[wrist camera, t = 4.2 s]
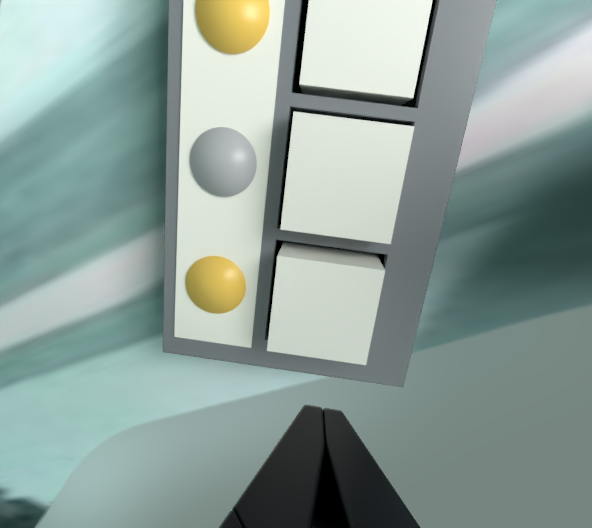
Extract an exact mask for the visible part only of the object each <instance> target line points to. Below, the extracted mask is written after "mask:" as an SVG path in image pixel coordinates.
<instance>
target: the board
mask: <svg viewBox="0 0 592 528" xmlns="http://www.w3.org/2000/svg"><path fill="white" fill-rule="evenodd" d="M496 1H497V0H436V3H435V8H434V13H433V18H432V23H431V28H430V33H429V38H428V43H427V48H426V53H425V58H424V63H423V68H422V73H421V78H420V83H419V88H418V93H417V98H416V103H415V108H412V107H404V106H395V105H387V104H379V103H371V102H363V101H355V100H347V99H338V98H330V97H322V96H314V95H306V94H298V93H293V86H294V76H295V67H296V58H297V49H298V40H299V30H300V21H301V12H302V3H303V0H169V24H168V81H167V139H166V196H165V254H164V311H163V352H166V353H173V354H180V355H187V356H194V357H201V358H207V359H214V360H221V361H228V362H235V363H241V364H248V365H255V366H262V367H269V368H275V369H282V370H289V371H296V372H303V373H309V374H316V375H323V376H330V377H337V378H343V379H350V380H357V381H364V382H371V383H377V384H385V385H391V386H398V387H403V386H404V381H405V377H406V373H407V369H408V365H409V361H410V357H411V353H412V349H413V344H414V340H415V336H416V332H417V328H418V324H419V320H420V315H421V311H422V307H423V303H424V299H425V295H426V291H427V286H428V282H429V278H430V274H431V270H432V266H433V262H434V258H435V253H436V249H437V245H438V241H439V237H440V233H441V229H442V224H443V220H444V216H445V212H446V208H447V204H448V200H449V195H450V191H451V187H452V183H453V179H454V175H455V171H456V167H457V162H458V158H459V154H460V150H461V146H462V142H463V138H464V133H465V129H466V125H467V121H468V117H469V113H470V109H471V104H472V100H473V96H474V92H475V88H476V84H477V80H478V76H479V71H480V67H481V63H482V59H483V55H484V51H485V47H486V42H487V38H488V34H489V30H490V26H491V22H492V18H493V13H494V9H495V5H496ZM291 108H295V109H304V110H312V111H320V112H328V113H336V114H344V115H352V116H360V117H368V118H376V119H384V120H392V121H400V122H408V123H411V126H415V127H414V132H413V137H412V142H411V147H410V151H409V156H408V161H407V166H406V171H405V176H404V181H403V186H402V191H401V196H400V201H399V206H398V211H397V215H396V220H395V225H394V230H393V235H392V240H391V244H385V243H377V242H370V241H362V240H355V239H347V238H340V237H333V236H325V235H318V234H310V233H303V232H296V231H288V230H281V229H280V228H281V226H278V223H279V214H280V205H281V196H282V186H283V177H284V168H285V159H286V150H287V141H288V131H289V122H290V113H291ZM277 240H284V241H291V242H298V243H306V244H313V245H320V246H328V247H335V248H343V249H350V250H357V251H365V252H372V253H379V254H385V258H384V263H383V267H384V269H385V275H384V279H383V284H382V289H381V294H380V299H379V304H378V309H377V314H376V319H375V324H374V329H373V334H372V339H371V343H370V348H369V353H368V358H367V363H366V365H361V364H354V363H347V362H340V361H333V360H326V359H319V358H312V357H306V356H299V355H292V354H285V353H278V352H271V351H267V345H268V336H269V328H267V324H268V315H269V306H270V296H271V287H272V278H273V269H274V260H275V251H276V241H277Z"/></svg>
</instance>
